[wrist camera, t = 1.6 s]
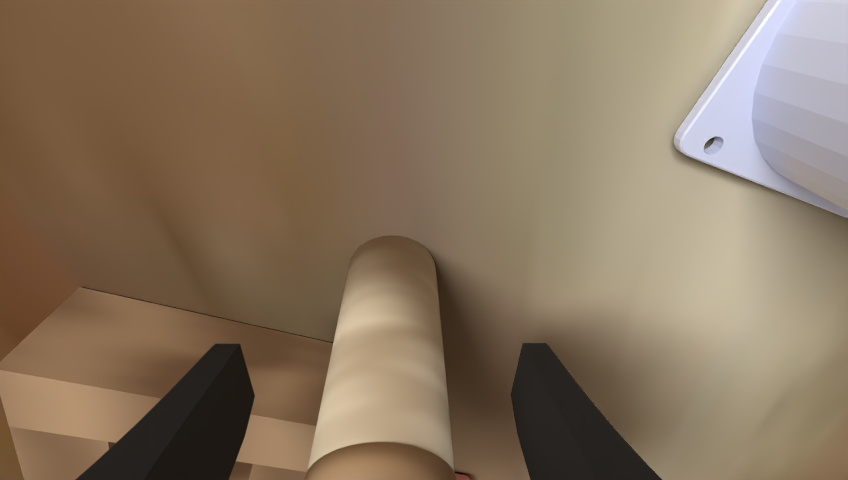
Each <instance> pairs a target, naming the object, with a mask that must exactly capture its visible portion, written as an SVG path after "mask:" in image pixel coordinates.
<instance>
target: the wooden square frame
mask: <svg viewBox="0 0 848 480" xmlns="http://www.w3.org/2000/svg"><path fill="white" fill-rule="evenodd" d="M214 344H240V345H241V349H242V352H243V356H244V359H245V363H246V366H247V370H248V373H249V377H250V380H251V384H252V387H253V391H254V394H255V398H254V402H253V406H252V411H251V415H250V419H249V423H248V426H247V430H246V434H245V437H244V440H243V443H242V446H241V448H240V451H239V454H238V456H237V459H236V462H235V464H234V467H233V470H232V472H231V475H230V477H229V480H304V479H305V475H306V473H307V469H308V465H309V460H310V455H311V450H312V445H313V440H314V435H315V430H316V426H317V421H318V416H319V411H320V406H321V401H322V396H323V391H324V387H325V382H326V377H327V372H328V367H329V362H330V357H331V352H332V348H333V343H330V342H325V341H321V340H316V339H312V338H307V337H303V336H298V335H294V334H289V333H285V332H280V331H276V330H271V329H267V328H262V327H258V326H253V325H249V324H244V323H240V322H235V321H231V320H226V319H222V318H217V317H212V316H208V315H203V314H199V313H194V312H190V311H185V310H181V309H176V308H172V307H167V306H163V305H158V304H154V303H149V302H145V301H140V300H136V299H131V298H127V297H122V296H118V295H113V294H109V293H104V292H100V291H95V290H91V289H86V288H82V287H79V288H78V289H77V290H76V291H75V292H74V293H72V294H71V295H70V296H69V297H68V298H67V299H66V300H65V301H64V302H63V303H62V304H61V305H60V306H59V307H58V308H57V309H56V310H54V311H53V312H52V313H51V314H50V315H49V316H48V317H47V318H46V319H45V320H44V321H43V322H42V323H41V324H40V325H39V326H38V327H37V328H35V329H34V330H33V331H32V332H31V333H30V334H29V335H28V336H27V337H26V338H25V339H24V340H23V341H22V342H21V343H20V344H19V345H17V346H16V347H15V348H14V349H13V350H12V351H11V352H10V353H9V354H8V355H7V356H6V357H5V358H4V359H3V360H2V361H1V362H0V396H1V399H2V403H3V406H4V410H5V413H6V417H7V421H8V424H9V428H10V431H11V435H12V438H13V442H14V445H15V449H16V452H17V456H18V460H19V463H20V467H21V470H22V474H23V477H24V480H75V479H76V478H78V477H79V476H80V475H81V474H82V473H83V472H85V471H86V470H87V469H88V468H89V467H90V466H91V465H92V464H94V463H95V462H96V461H97V460H98V459H99V458H100V457H101V456H102V455H103V454H105V453H106V452H107V451H108V450H109V449H110V448H111V447H112V446H113V445H114V444H115V443H116V442H117V441H119V440H120V439H121V438H122V437H123V436H124V435H125V434H126V433H127V432H128V431H129V430H130V429H131V428H132V427H134V426H135V425H136V424H137V423H138V422H139V421H140V420H141V419H142V418H143V417H144V416H145V415H146V414H147V413H148V412H149V411H150V410H151V409H152V408H153V407H154V406H155V405H156V404H157V403H158V402H159V401H160V400H161V399H162V398H163V397H164V396H165V395H166V394H167V393H168V392H169V391H170V390H171V389H172V388H173V387H174V386H175V385H176V384H177V382H178V381H179V380H180V379H181V378H182V377H183V376H184V375H185V374H186V373H187V372H188V371H189V370H190V369H191V368H192V367H193V366H194V365H195V364H196V363H197V362H198V361H199V360H200V358H201V357H202V356H203V355H204V354H205V353H206V352H207V351H208V350H209V349H210V348H211V347H212V346H213V345H214Z"/></svg>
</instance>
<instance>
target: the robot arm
mask: <svg viewBox="0 0 848 480" xmlns="http://www.w3.org/2000/svg"><path fill="white" fill-rule="evenodd" d="M713 137H715V139H714V142H713V144H712V145H711V146H710V147H708V148H706V149H704V146H705V143H706V142H707V141H708V140H709V139H710V138H713ZM674 145H675V148H676V149H677V150H679V151H680V152H682V153H683V154H685V155H686V156H689V157H691V158H694V159H696V160H699V161H701V162H704V163H707V164H709V165H712V166H714V167H717V168H719V169H722V170H725V171H727V172H730V173H732V174H735V175H737V176H740V177H743V178H745V179H748V180H750V181H753V182H755V183H758V184H761V185H763V186H766V187H768V188H771V189H773V190H776V191H779V192H781V193H784V194H786V195H789V196H791V197H794V198H797V199H799V200H802V201H804V202H807V203H809V204H812V205H815V206H817V207H820V208H822V209H825V210H827V211H830V212H833V213H835V214H838V215H840V216H843V217H845V218H848V0H768V1H767V2H766V4H765V5H764V7H763V8H762V10H761V11H760V12H759V14H758V15H757V17H756V18H755V20H754V21H753V22H752V24H751V25H750V27H749V28H748V30H747V31H746V32H745V34H744V35H743V37H742V38H741V40H740V41H739V43H738V44H737V45H736V47H735V48H734V50H733V51H732V53H731V54H730V55H729V57H728V58H727V60H726V61H725V63H724V64H723V66H722V67H721V68H720V70H719V71H718V73H717V74H716V76H715V77H714V78H713V80H712V81H711V83H710V84H709V86H708V87H707V89H706V90H705V91H704V93H703V94H702V96H701V97H700V99H699V100H698V101H697V103H696V104H695V106H694V107H693V109H692V110H691V112H690V113H689V114H688V116H687V117H686V119H685V120H684V122H683V123H682V124H681V126H680V127H679V129H678V130H677V132H676V134H675V136H674ZM254 398H255V394H254V391H253V387H252V384H251V380H250V377H249V373H248V370H247V366H246V363H245V359H244V356H243V352H242V349H241V345H240V344H214V345H213V346H212V347H211V348H210V349H209V350H208V351H207V352H206V353H205V354H204V355H203V356H202V357H201V358H200V360H199V361H198V362H197V363H196V364H195V365H194V366H193V367H192V368H191V369H190V370H189V371H188V372H187V373H186V374H185V375H184V376H183V377H182V378H181V379H180V380H179V381H178V382H177V384H176V385H175V386H174V387H173V388H172V389H171V390H170V391H169V392H168V393H167V394H166V395H165V396H164V397H163V398H162V399H161V400H160V401H159V402H158V403H157V404H156V405H155V406H154V407H153V408H152V409H151V410H150V411H149V412H148V413H147V414H146V415H145V416H144V417H143V418H142V419H141V420H140V421H139V422H138V423H137V424H136V425H135V426H134V427H132V428H131V429H130V430H129V431H128V432H127V433H126V434H125V435H124V436H123V437H122V438H121V439H120V440H119V441H117V442H116V443H115V444H114V445H113V446H112V447H111V448H110V449H109V450H108V451H107V452H106V453H105V454H103V455H102V456H101V457H100V458H99V459H98V460H97V461H96V462H95V463H94V464H92V465H91V466H90V467H89V468H88V469H87V470H86V471H85V472H83V473H82V474H81V475H80V476H79V477H78V478H76V479H75V480H229V477H230V475H231V472H232V470H233V467H234V464H235V462H236V459H237V456H238V454H239V451H240V448H241V446H242V443H243V440H244V437H245V434H246V430H247V426H248V423H249V419H250V415H251V411H252V406H253V402H254ZM511 398H512V404H513V410H514V416H515V422H516V427H517V433H518V437H519V440H520V444H521V448H522V451H523V455H524V458H525V462H526V465H527V469H528V472H529V476H530V479H531V480H662V479H661V478H660V477H659V476H658V475H657V474H656V473H655V472H654V471H653V470H652V469H651V468H650V467H649V466H648V465H647V464H646V463H645V462H644V461H643V460H642V458H641V457H640V456H639V455H638V454H637V453H636V452H635V451H634V450H633V449H632V448H631V447H630V445H629V444H628V443H627V442H626V441H625V440H624V439H623V438H622V437H621V436H620V434H619V433H618V432H617V431H616V430H615V429H614V428H613V426H612V425H611V424H610V423H609V422H608V421H607V419H606V418H605V417H604V416H603V415H602V413H601V412H600V411H599V410H598V409H597V407H596V406H595V405H594V404H593V403H592V401H591V400H590V399H589V398H588V396H587V395H586V394H585V393H584V392H583V390H582V389H581V388H580V386H579V385H578V384H577V383H576V381H575V380H574V379H573V377H572V376H571V375H570V374H569V372H568V371H567V370H566V368H565V367H564V366H563V364H562V363H561V362H560V360H559V359H558V358H557V356H556V355H555V354H554V352H553V351H552V350H551V348H550V347H549V346H548V345H547V344H546V343H523V345H522V349H521V354H520V358H519V362H518V366H517V371H516V375H515V379H514V383H513V388H512V392H511Z"/></svg>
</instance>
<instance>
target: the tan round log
mask: <svg viewBox="0 0 848 480" xmlns="http://www.w3.org/2000/svg"><path fill="white" fill-rule="evenodd" d="M304 480H456V476H455V470H454V460H453V449H452V438H451V427H450V417H449V406H448V395H447V384H446V373H445V363H444V352H443V341H442V330H441V320H440V309H439V298H438V287H437V276H436V267H435V263H434V260H433V258H432V256H431V254H430V253H429V252H428V251H427V249H426V248H424V247H423V246H422V245H421V244H419V243H418V242H416V241H414V240H411V239H408V238H405V237H401V236H383V237H378V238H375V239H372V240H370V241H368V242H366V243H365V244H363V245H362V246H361V247H359V248H358V249H357V251H356V252H355V253H354V255H353V256H352V258H351V261H350V265H349V270H348V274H347V279H346V284H345V289H344V294H343V299H342V304H341V309H340V313H339V318H338V323H337V328H336V333H335V338H334V343H333V348H332V352H331V357H330V362H329V367H328V372H327V377H326V382H325V387H324V391H323V396H322V401H321V406H320V411H319V416H318V421H317V426H316V430H315V435H314V440H313V445H312V450H311V455H310V460H309V465H308V469H307V473H306V475H305V479H304Z"/></svg>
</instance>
